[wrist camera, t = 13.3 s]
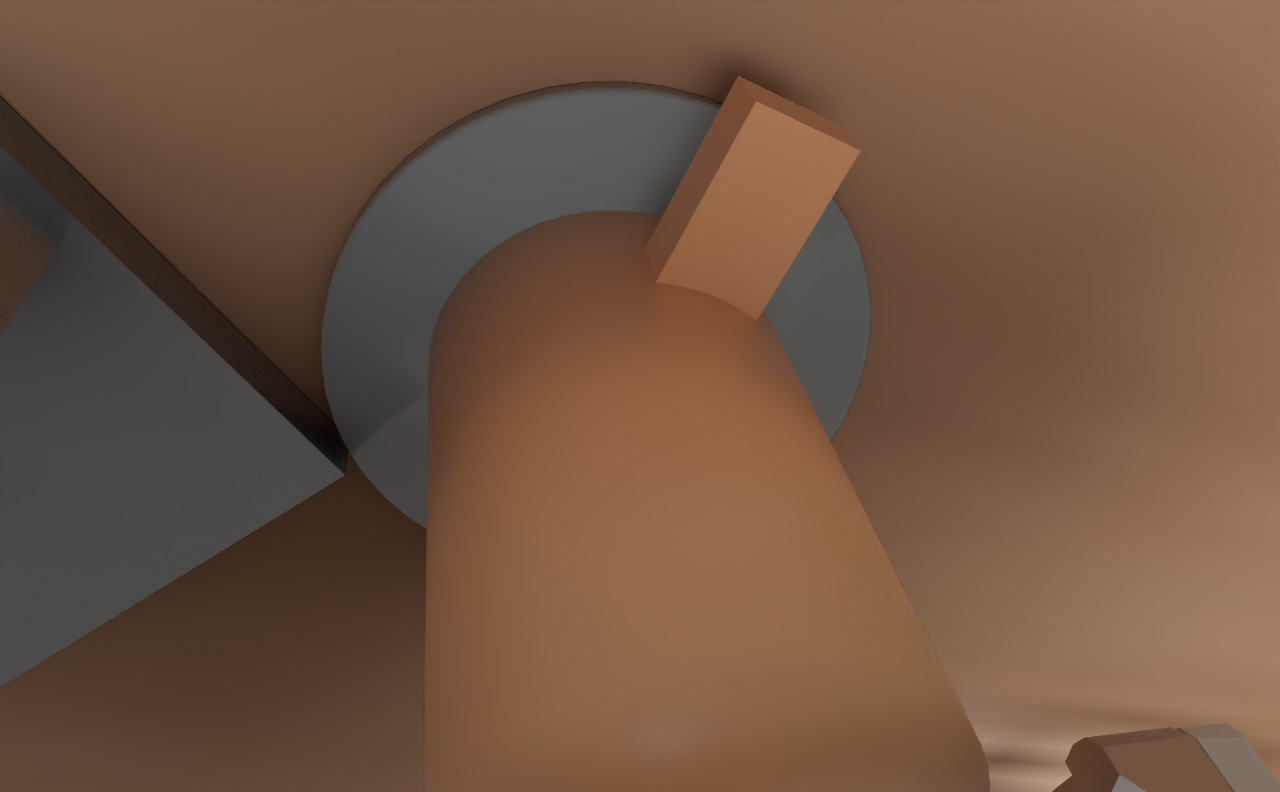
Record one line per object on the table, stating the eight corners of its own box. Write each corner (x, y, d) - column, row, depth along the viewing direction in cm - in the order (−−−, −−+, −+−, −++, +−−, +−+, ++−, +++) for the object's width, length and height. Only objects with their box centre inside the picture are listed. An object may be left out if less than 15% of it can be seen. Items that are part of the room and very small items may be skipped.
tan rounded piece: (609, 630, 22) (699, 1138, 14) (327, 560, 20) (262, 1109, 12) (919, 145, 17) (1294, 529, 10) (589, -15, 15) (740, 314, 7)
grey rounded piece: (531, 618, 22) (533, 640, 21) (200, 292, 17) (193, 312, 17) (937, 389, 20) (950, 407, 20) (698, -43, 15) (707, -33, 15)
